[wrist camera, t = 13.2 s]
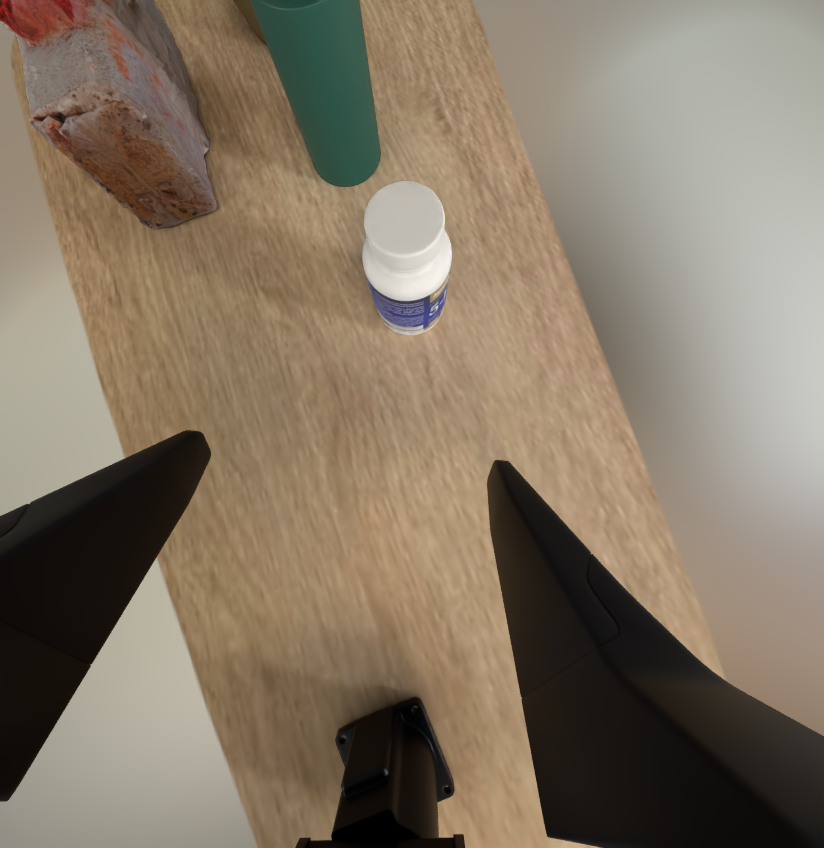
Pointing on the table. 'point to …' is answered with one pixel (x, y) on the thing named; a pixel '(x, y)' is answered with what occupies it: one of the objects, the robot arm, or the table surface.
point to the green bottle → (325, 82)
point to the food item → (116, 101)
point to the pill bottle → (407, 256)
